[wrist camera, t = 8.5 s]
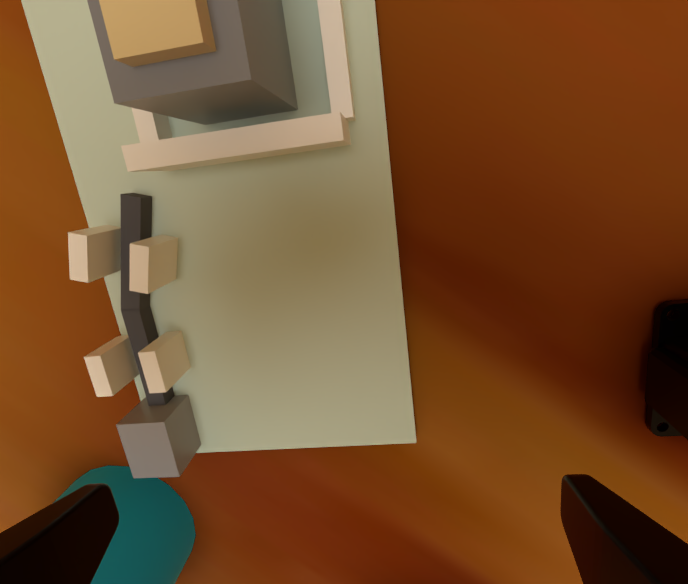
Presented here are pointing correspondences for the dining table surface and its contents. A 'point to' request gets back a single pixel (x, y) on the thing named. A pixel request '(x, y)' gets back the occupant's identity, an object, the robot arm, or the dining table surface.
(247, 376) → the board
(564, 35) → the dining table surface
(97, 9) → the block
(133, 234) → the cable
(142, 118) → the holder
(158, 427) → the clamp and clips
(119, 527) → the mug
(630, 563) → the robot arm
